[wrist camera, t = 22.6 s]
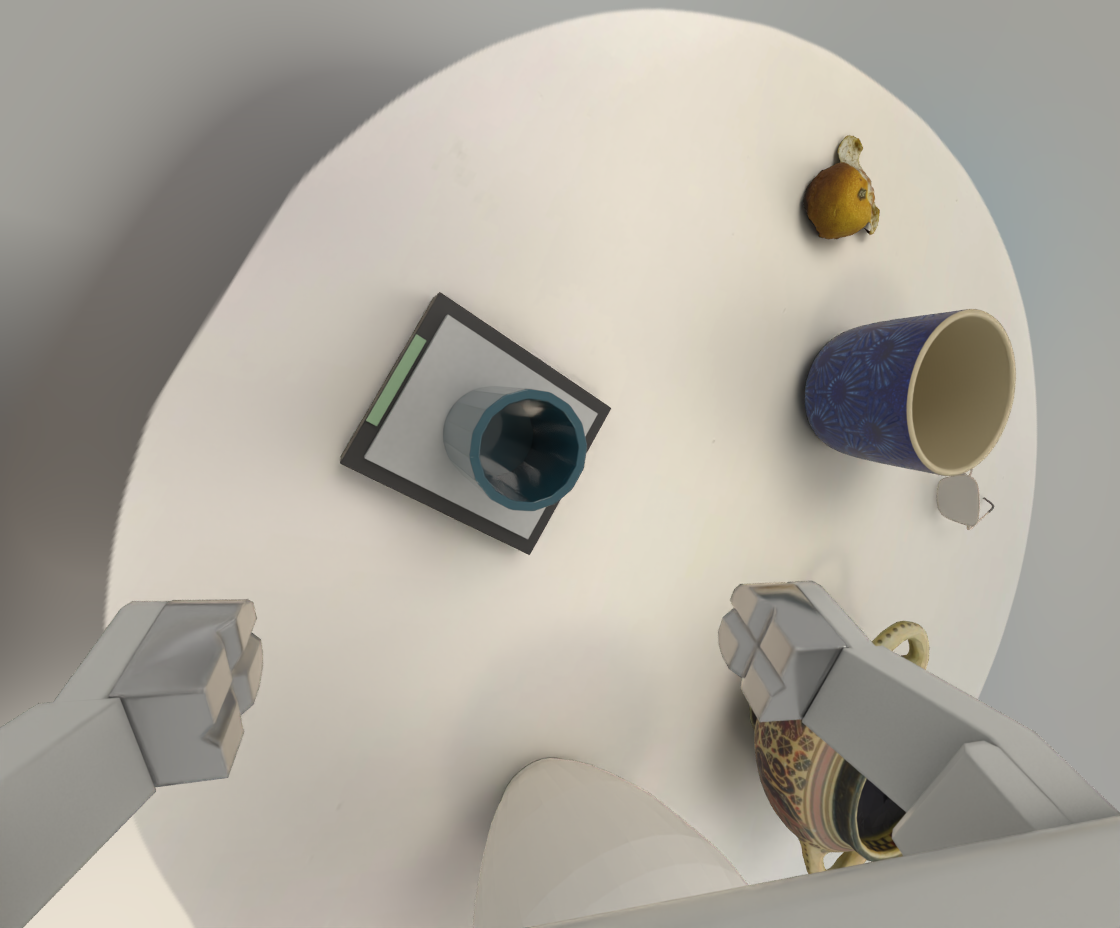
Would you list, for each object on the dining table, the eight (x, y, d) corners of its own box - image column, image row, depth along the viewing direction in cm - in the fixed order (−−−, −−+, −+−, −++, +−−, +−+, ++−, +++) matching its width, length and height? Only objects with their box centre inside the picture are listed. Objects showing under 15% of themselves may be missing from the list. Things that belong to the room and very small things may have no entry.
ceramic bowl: (772, 789, 58) (924, 907, 46) (674, 825, 47) (841, 992, 35) (841, 582, 57) (1014, 649, 45) (758, 570, 46) (957, 654, 34)
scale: (340, 457, 33) (339, 465, 30) (433, 297, 34) (441, 290, 31) (519, 544, 39) (532, 558, 36) (596, 406, 39) (615, 408, 37)
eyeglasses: (931, 402, 54) (976, 403, 50) (974, 382, 57) (1019, 382, 53) (937, 524, 57) (979, 533, 54) (977, 499, 60) (1019, 506, 57)
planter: (894, 423, 52) (1023, 435, 42) (804, 477, 49) (922, 504, 39) (873, 303, 48) (1009, 284, 38) (774, 352, 45) (896, 346, 35)
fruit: (879, 224, 47) (919, 213, 44) (817, 268, 45) (854, 260, 42) (852, 132, 44) (893, 112, 41) (785, 174, 43) (822, 157, 39)
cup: (424, 453, 32) (446, 477, 25) (473, 367, 32) (510, 365, 25) (507, 497, 35) (549, 530, 27) (552, 417, 35) (606, 428, 28)
